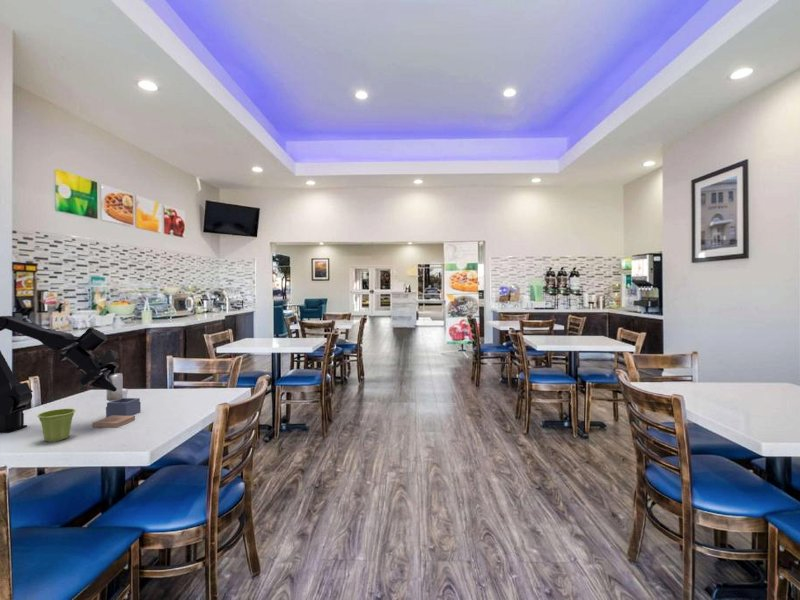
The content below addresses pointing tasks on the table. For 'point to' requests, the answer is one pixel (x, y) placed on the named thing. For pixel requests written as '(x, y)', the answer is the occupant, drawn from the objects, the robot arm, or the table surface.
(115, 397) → the silver metal cylinder
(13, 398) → the robot arm
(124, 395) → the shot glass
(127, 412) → the dark blue ridged block
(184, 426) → the table surface
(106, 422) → the tan flat square slab
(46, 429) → the plant pot
